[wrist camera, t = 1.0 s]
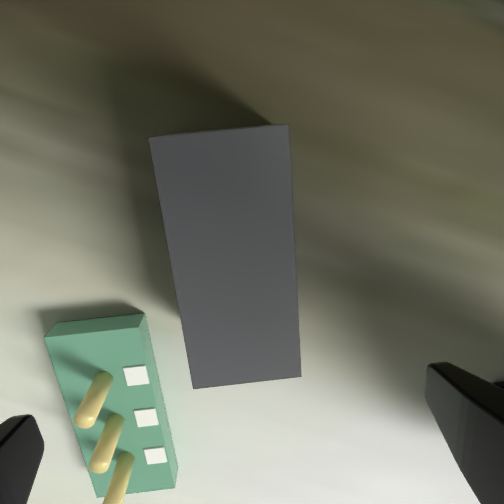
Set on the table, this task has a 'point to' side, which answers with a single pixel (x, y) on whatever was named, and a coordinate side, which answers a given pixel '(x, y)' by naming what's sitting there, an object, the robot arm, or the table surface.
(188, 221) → the block
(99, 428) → the green peg board
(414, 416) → the table surface
